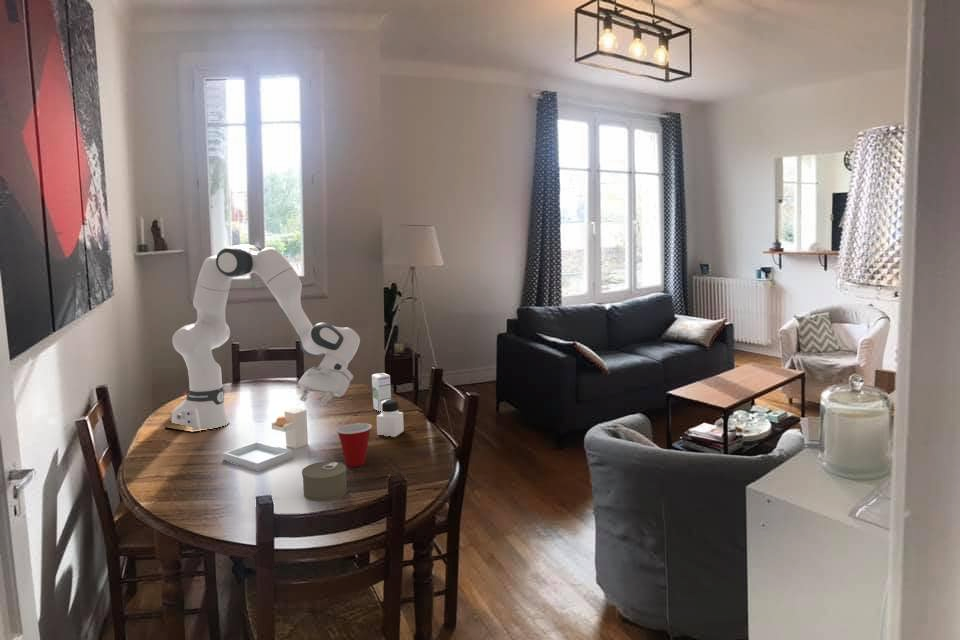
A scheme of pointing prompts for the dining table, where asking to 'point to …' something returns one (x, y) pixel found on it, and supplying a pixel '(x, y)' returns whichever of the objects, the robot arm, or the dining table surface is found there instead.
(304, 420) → the white block with shelf
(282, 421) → the ball
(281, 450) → the tray
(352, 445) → the plastic cup
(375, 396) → the syrup box
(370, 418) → the dining table surface
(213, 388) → the robot arm
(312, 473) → the can
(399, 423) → the medicine bottle
